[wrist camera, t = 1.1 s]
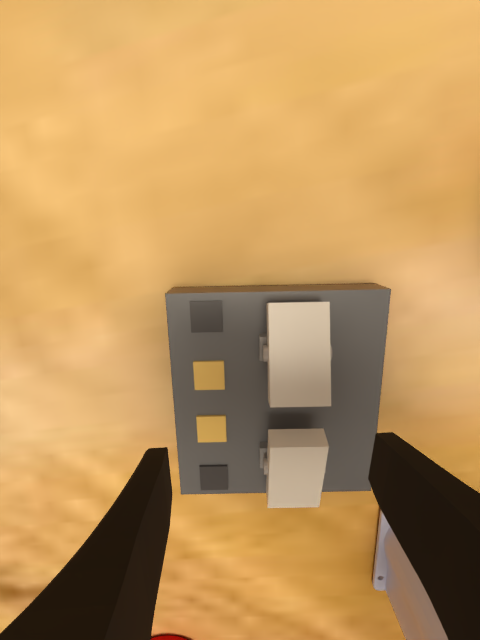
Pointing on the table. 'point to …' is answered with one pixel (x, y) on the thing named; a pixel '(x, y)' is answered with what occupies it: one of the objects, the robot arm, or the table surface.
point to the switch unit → (252, 383)
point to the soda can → (168, 637)
